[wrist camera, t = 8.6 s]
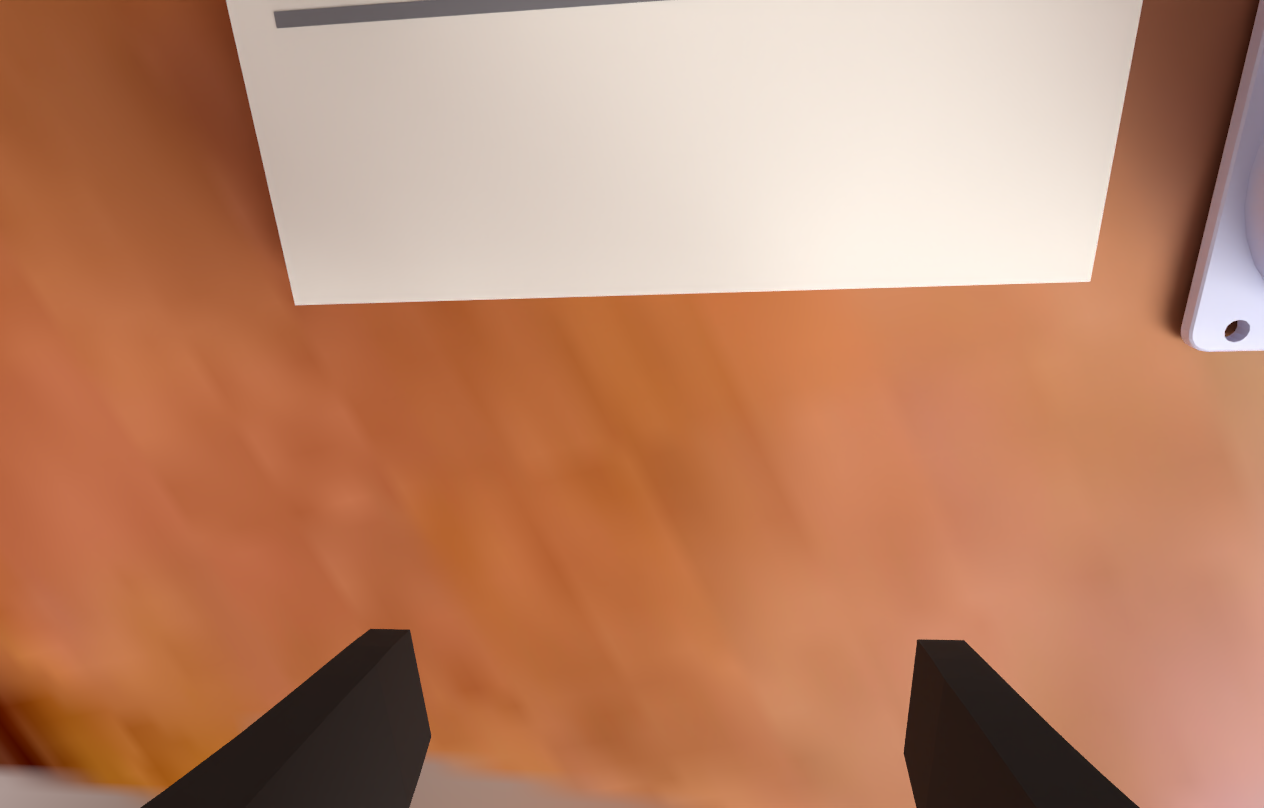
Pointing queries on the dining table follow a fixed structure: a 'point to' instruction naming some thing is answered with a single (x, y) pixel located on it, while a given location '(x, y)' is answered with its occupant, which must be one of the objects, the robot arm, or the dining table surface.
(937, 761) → the robot arm
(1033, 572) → the dining table surface
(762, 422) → the dining table surface
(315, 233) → the board
